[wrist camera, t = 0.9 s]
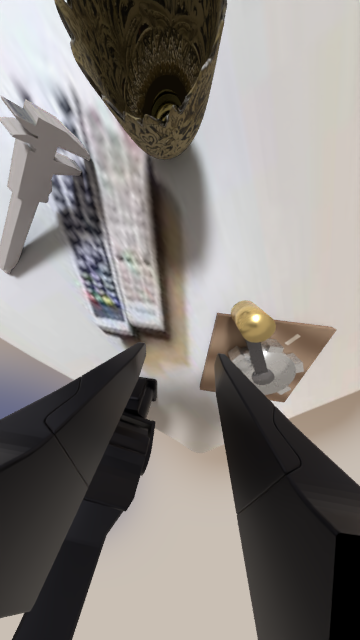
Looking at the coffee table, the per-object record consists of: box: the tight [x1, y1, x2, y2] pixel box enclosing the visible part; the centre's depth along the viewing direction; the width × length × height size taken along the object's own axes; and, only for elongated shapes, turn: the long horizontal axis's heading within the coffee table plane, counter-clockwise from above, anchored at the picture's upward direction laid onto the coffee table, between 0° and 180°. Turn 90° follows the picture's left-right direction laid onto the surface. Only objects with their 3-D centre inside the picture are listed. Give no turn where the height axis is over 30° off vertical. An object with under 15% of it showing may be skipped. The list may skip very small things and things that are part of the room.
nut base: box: [200, 313, 336, 402], centre depth 22 cm, size 16×16×1 cm
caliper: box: [0, 96, 90, 274], centre depth 14 cm, size 20×1×6 cm, turn 124°
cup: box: [55, 0, 227, 159], centre depth 9 cm, size 8×7×8 cm
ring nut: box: [228, 301, 304, 395], centre depth 18 cm, size 18×11×6 cm, turn 24°
